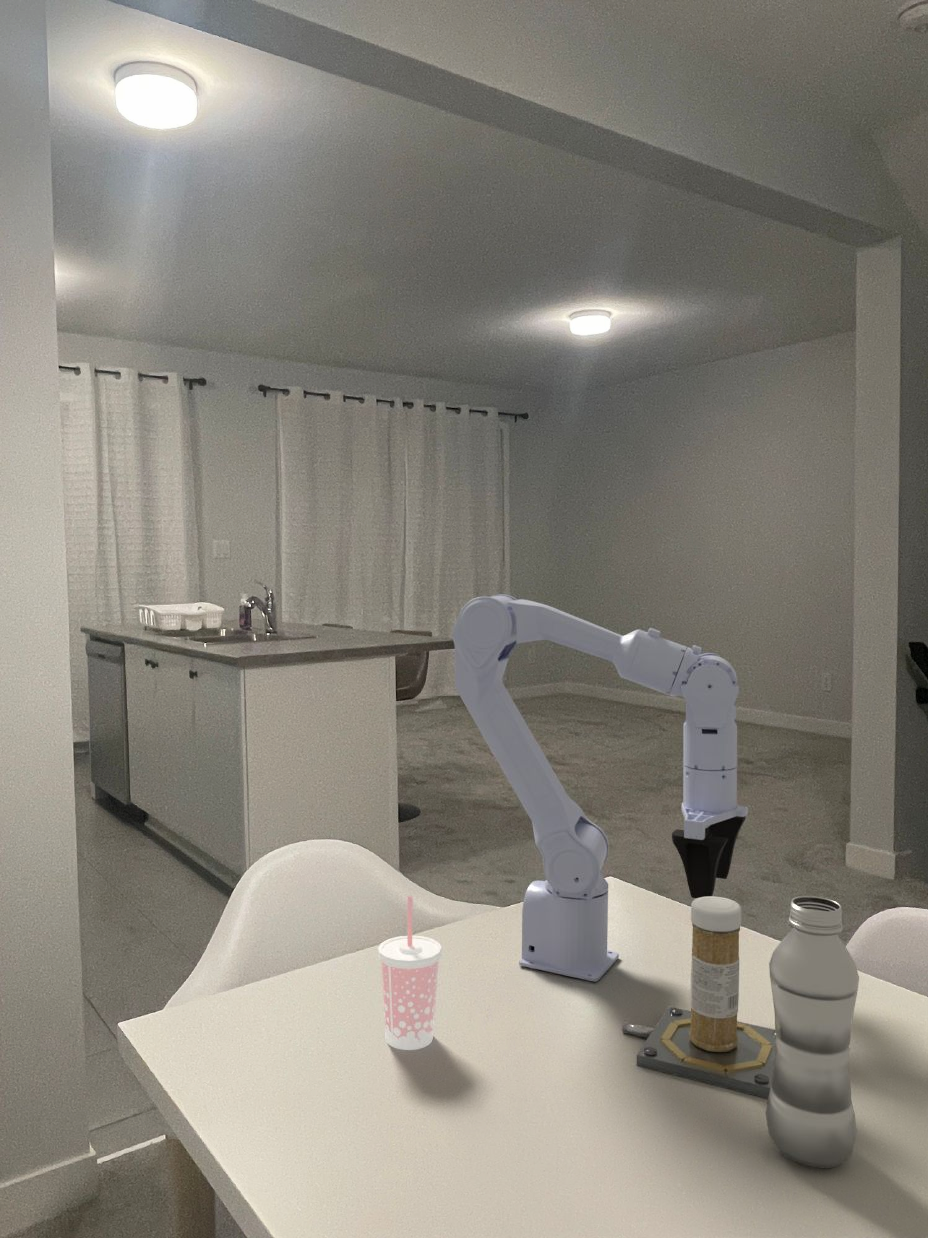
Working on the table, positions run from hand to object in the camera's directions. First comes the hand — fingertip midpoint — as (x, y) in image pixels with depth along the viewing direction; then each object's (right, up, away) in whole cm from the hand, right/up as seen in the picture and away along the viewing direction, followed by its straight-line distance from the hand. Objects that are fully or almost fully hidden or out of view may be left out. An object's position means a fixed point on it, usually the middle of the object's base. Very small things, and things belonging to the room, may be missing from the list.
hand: (709, 887), depth 106 cm
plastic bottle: (0, -13, -31) cm, 33 cm away
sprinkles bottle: (-4, -11, -16) cm, 19 cm away
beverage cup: (-33, -11, -13) cm, 37 cm away
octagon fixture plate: (-5, -11, -15) cm, 19 cm away
